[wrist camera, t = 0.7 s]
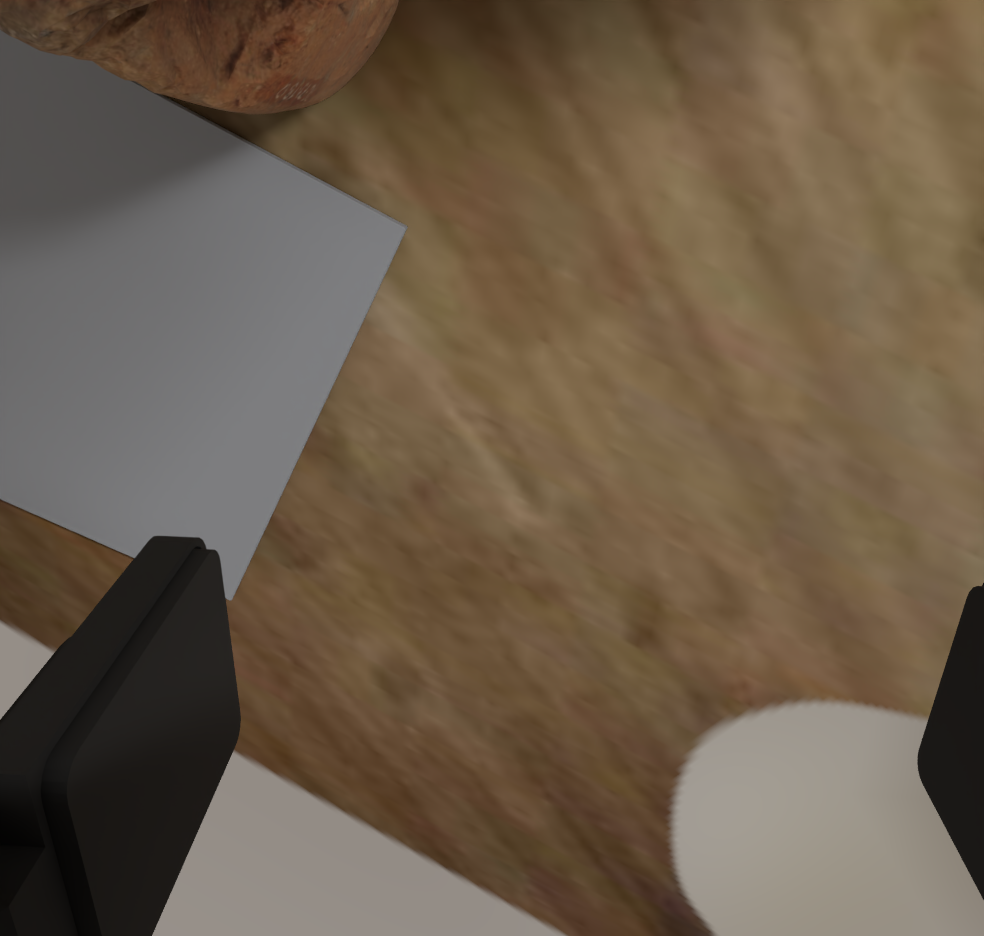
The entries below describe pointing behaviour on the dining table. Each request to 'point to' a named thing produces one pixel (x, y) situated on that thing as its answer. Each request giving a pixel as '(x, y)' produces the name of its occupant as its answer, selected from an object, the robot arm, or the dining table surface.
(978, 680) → the robot arm
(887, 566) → the dining table surface
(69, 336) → the mat
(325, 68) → the block
